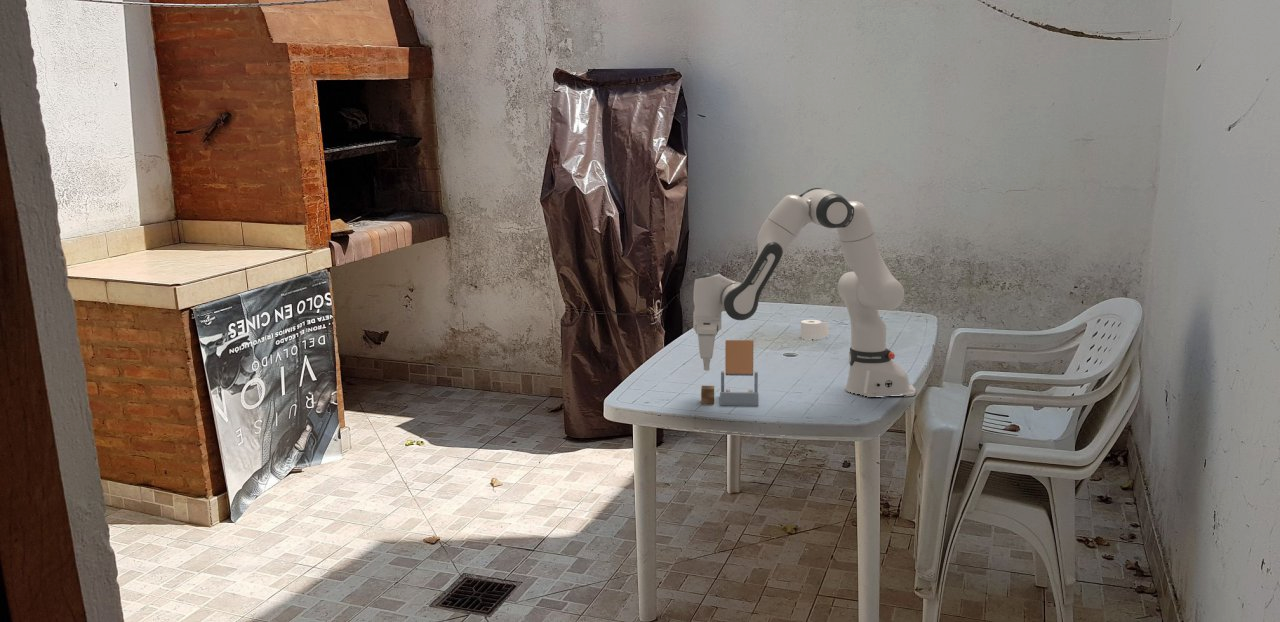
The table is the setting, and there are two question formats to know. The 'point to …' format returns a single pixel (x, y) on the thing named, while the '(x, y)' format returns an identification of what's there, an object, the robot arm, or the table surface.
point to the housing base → (739, 395)
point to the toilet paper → (814, 329)
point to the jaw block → (707, 395)
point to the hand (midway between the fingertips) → (707, 366)
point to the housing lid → (739, 357)
